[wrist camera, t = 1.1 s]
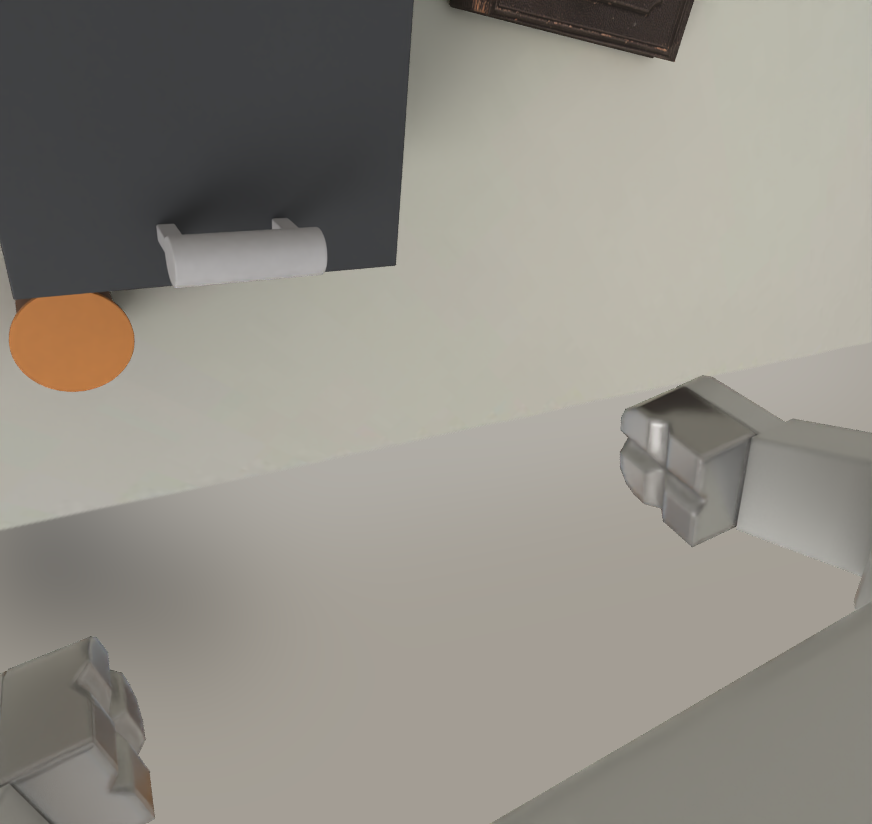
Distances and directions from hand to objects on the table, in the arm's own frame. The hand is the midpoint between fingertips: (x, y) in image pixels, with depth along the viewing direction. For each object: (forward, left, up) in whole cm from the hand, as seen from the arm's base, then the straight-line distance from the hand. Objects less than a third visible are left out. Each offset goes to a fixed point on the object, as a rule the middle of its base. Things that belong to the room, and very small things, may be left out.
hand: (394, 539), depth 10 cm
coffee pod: (-3, -9, -31) cm, 33 cm away
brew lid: (+3, +3, -22) cm, 22 cm away
